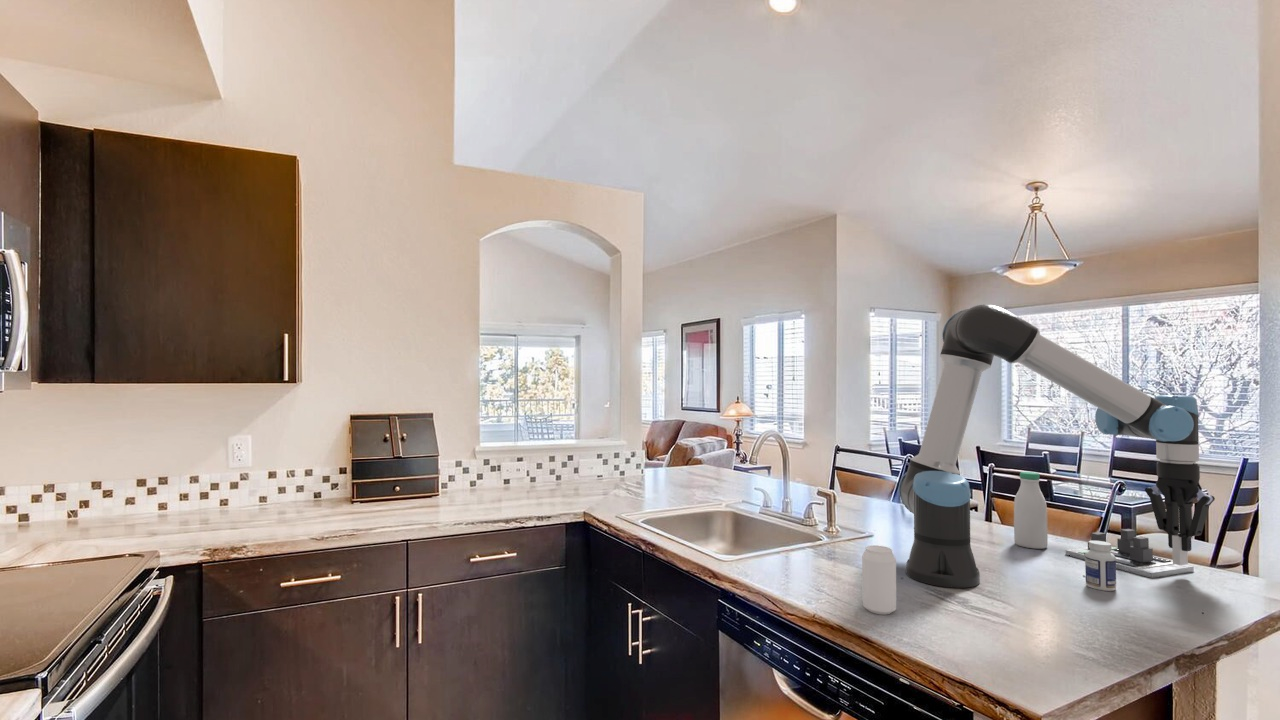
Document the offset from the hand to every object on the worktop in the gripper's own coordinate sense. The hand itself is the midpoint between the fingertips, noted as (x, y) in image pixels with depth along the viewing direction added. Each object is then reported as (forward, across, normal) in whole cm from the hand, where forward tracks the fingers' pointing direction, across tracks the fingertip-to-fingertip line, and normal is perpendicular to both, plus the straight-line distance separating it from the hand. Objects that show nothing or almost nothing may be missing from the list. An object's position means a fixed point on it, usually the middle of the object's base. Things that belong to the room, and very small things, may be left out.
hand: (1180, 563), depth 142 cm
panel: (+3, +12, 0) cm, 12 cm away
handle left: (+1, +14, +6) cm, 16 cm away
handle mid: (+1, +8, 0) cm, 8 cm away
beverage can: (+3, +6, +81) cm, 81 cm away
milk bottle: (+3, +31, +8) cm, 32 cm away
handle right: (+1, +14, -6) cm, 16 cm away
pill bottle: (+3, +1, +25) cm, 26 cm away
